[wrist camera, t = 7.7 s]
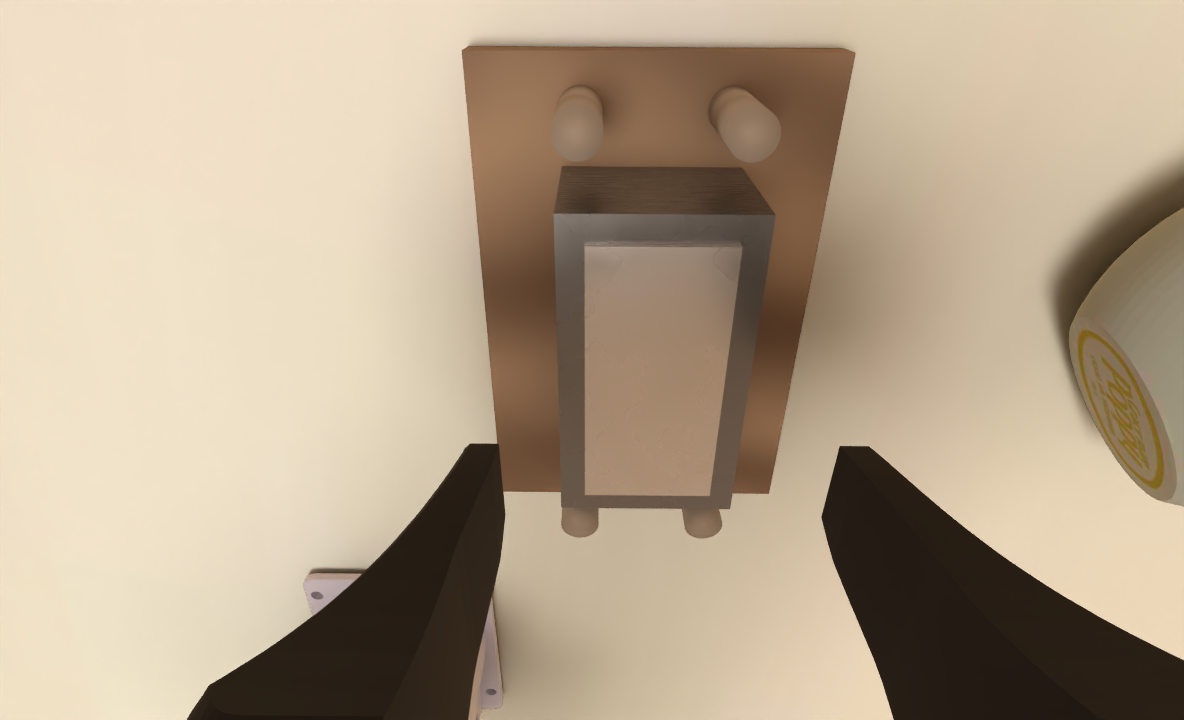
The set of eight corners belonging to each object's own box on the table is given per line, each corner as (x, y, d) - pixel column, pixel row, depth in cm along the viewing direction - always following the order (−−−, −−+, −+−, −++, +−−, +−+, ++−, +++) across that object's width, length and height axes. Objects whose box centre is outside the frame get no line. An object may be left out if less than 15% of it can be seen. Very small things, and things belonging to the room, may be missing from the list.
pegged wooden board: (763, 475, 25) (789, 555, 22) (504, 473, 25) (490, 553, 22) (842, 48, 17) (903, 69, 14) (468, 46, 17) (436, 66, 14)
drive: (709, 426, 23) (731, 513, 19) (566, 425, 23) (561, 512, 19) (742, 167, 18) (778, 218, 14) (561, 166, 18) (553, 216, 14)
